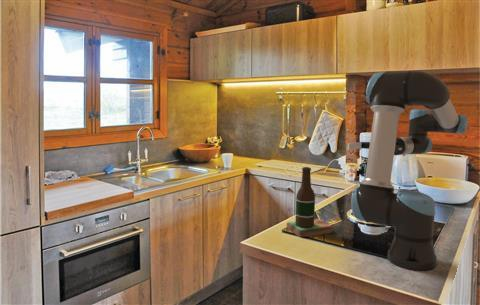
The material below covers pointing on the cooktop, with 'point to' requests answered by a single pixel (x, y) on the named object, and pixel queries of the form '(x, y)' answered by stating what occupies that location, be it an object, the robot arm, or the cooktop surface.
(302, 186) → the beer bottle
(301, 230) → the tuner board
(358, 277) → the cooktop surface
